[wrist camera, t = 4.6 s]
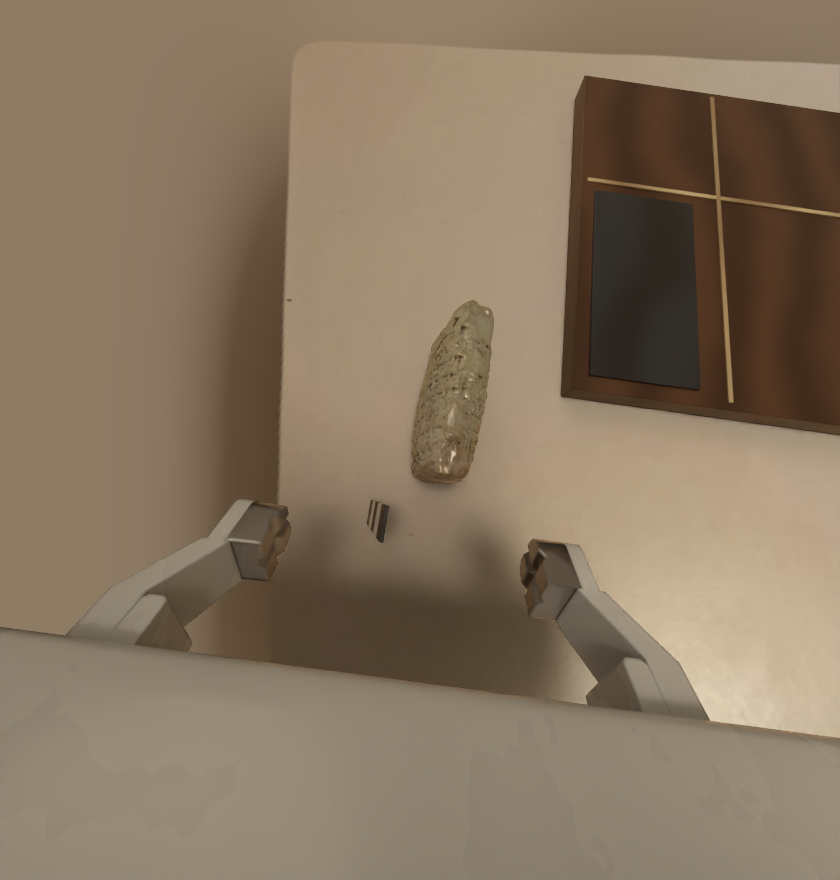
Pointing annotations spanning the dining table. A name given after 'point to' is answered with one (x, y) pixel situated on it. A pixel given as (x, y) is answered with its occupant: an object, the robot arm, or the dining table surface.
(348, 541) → the dining table surface
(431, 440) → the cuneiform tablet
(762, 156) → the board
